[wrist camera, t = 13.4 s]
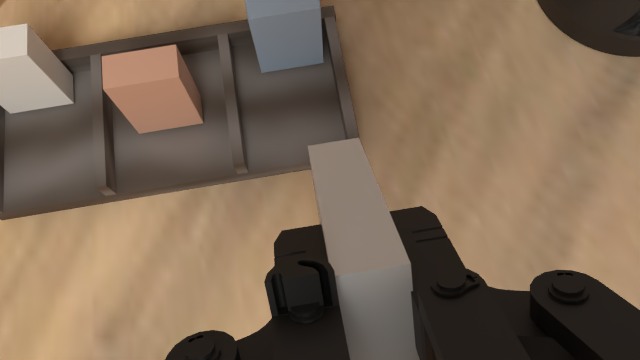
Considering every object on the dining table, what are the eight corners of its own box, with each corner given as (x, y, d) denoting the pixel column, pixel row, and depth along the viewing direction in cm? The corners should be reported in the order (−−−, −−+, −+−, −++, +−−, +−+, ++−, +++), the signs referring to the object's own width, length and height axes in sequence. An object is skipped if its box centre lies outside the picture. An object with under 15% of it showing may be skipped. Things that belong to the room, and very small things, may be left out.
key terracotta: (203, 123, 45) (178, 77, 38) (139, 133, 45) (103, 89, 38) (200, 94, 46) (175, 44, 39) (137, 105, 45) (101, 56, 39)
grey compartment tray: (360, 160, 45) (361, 143, 42) (2, 220, 45) (-25, 207, 41) (334, 30, 49) (333, 5, 46) (4, 83, 49) (-20, 62, 45)
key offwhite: (73, 103, 46) (27, 54, 39) (10, 113, 46) (-48, 66, 39) (73, 75, 47) (27, 23, 40) (11, 85, 46) (-46, 35, 40)
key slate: (323, 62, 46) (320, 7, 39) (261, 72, 46) (247, 19, 39) (318, 36, 47) (314, -23, 40) (257, 46, 47) (243, -11, 40)
